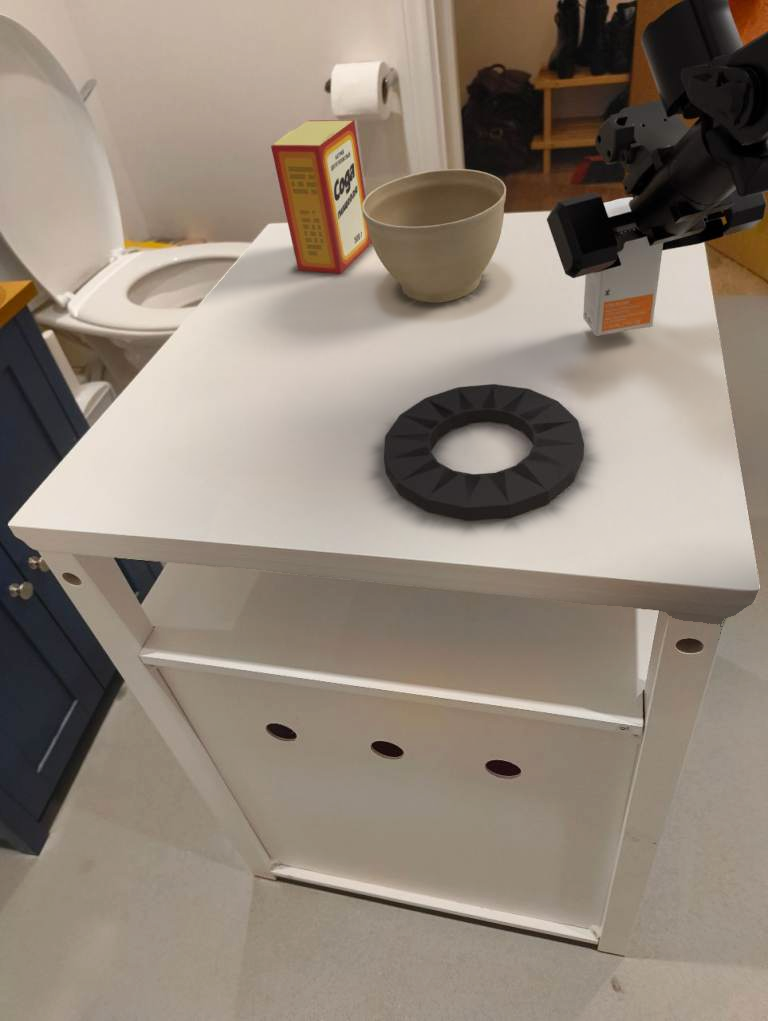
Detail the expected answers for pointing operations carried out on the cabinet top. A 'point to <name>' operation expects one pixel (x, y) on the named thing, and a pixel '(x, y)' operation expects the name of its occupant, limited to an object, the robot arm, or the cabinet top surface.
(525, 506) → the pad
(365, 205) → the planter bowl
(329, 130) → the baking soda box
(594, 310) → the cosmetic box
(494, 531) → the cabinet top surface
